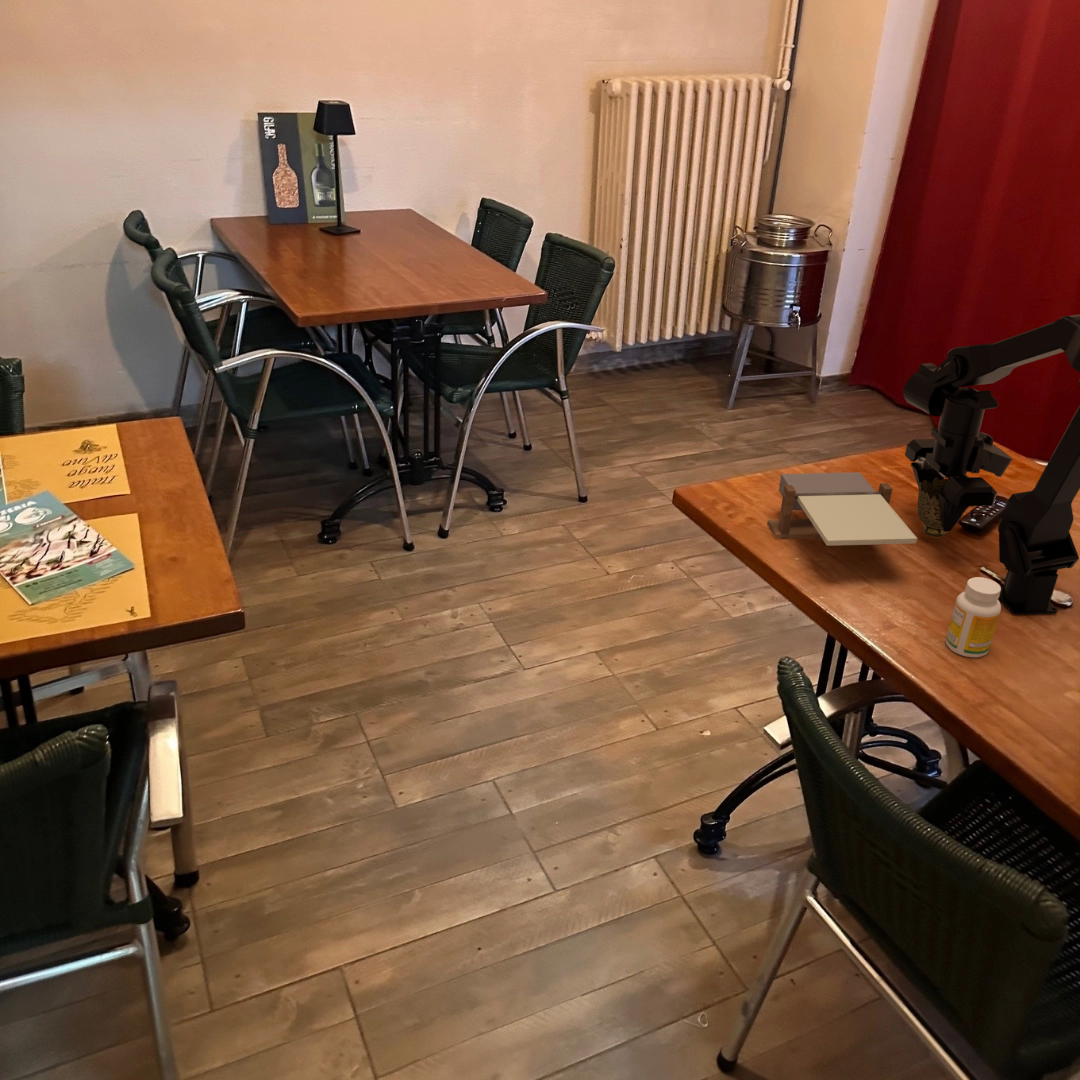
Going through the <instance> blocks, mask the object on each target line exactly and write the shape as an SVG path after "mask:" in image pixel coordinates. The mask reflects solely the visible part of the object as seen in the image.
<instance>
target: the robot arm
mask: <svg viewBox="0 0 1080 1080" xmlns="http://www.w3.org/2000/svg"><path fill="white" fill-rule="evenodd" d="M1062 353H1065V354H1066V358H1067V360H1068V362H1069V366H1070V367H1071V368H1073V369H1074V370H1075V371H1077V372H1078V373H1080V314H1071V315H1064V316H1063V315H1062V317H1059V318H1058V319H1057V320H1055V321H1053V322H1049V323H1047V324H1044V325H1041V326H1038V327H1036V328H1033V329H1030V330H1027V331H1025V332H1021V333H1019V334H1016V335H1013V336H1011V337H1008V338H1005V339H1002V340H999V341H996V342H992V343H985V344H983V343H982V344H974V345H973V344H971V345H964V346H956V347H953V348H951V349H950V350H949V351H948V352H947V354H946V358H945V359H944V360H943V361H942V362H941V363H940V364H939V366H937V365H935V364H934V363H931V362H928V363H920V364H919V366H918V371H916V372H915V373H913V374H912V375H911V376H910V377H909V378H908V380H907V381H906V383H905V384H904V386H903V390H902V392H903V393H902V395H903V398H904V400H905V401H906V403H908V404H910V405H912V406H913V407H915V408H917V409H919V410H921V411H923V412H925V413H926V414H928V415H930V416H933V417H936V418H937V417H939V422H938V426H937V428H931V432H930V435H931V436H932V437H933V438H918V439H917V438H915V439H912V440H911V441H910V442H908V443H907V444H906V447H905V448H906V449H905V453H904V456H905V457H906V458H907V459H908V460H909V461H910V462H911V463H910V467H911V468H912V471H913V475H914V478H915V480H916V485H917V488H918V489H919V484H920V482H922V483H923V481H924V480H927V484H928V483H929V482H930V483H933V480H934V478H938V479H939V481H940V480H943V479H946V478H947V479H949V481H948V482H947V483H946V484H945V488H944V493H939V502H940V511H941V521H942V528H943V531H944V532H947V533H949V532H951V531H952V530H953V529H954V527H955V526H956V525H957V524H958V523H959V522H958V520H959V519H960V520H961V518H962V516H963V515H964V513H965V512H966V511H967V510H968V508H969V507H984V506H985V507H988V506H989V507H990V506H991V507H992V506H993V505H994V504H995V502H996V498H997V494H998V491H997V490H995V488H994V487H993V486H992V485H991V484H990V483H989V482H987V480H985V479H984V477H982V476H977V477H976V476H970V477H969V476H968V475H967V473H970V474H980V471H981V470H982V471H986V472H988V473H991V474H994V476H996V477H998V478H1001V477H1002V476H1003V475H1004V473H1005V472H1006V471H1007V468H1008V467H1009V465H1010V464H1011V463H1012V461H1013V457H1011V456H1010V455H1009V454H1007V453H1006V452H1005V451H1004V450H1003V449H1001V448H999V447H998V446H997V445H995V444H994V438H993V437H992V436H991V435H989V434H988V433H985V432H983V431H981V427H982V423H983V419H984V414H985V410H992V409H997V408H998V407H999V403H998V401H997V400H996V398H995V397H994V396H993V395H992V392H991V390H990V389H988V390H977V389H975V388H973V386H978V385H979V386H981V385H988V384H994V383H996V382H998V381H1000V380H1001V379H1003V378H1005V377H1007V376H1009V375H1010V374H1011V373H1012V371H1013V370H1014V369H1016V368H1018V367H1020V366H1023V365H1025V364H1029V363H1032V362H1035V361H1038V360H1039V361H1040V360H1042V359H1045V358H1048V357H1052V356H1054V355H1055V356H1056V355H1058V354H1062ZM971 386H972V387H971ZM1078 387H1079V389H1080V380H1079V381H1078ZM1079 491H1080V405H1079V406H1078V408H1077V410H1076V411H1075V413H1074V415H1073V416H1072V418H1071V420H1070V422H1069V423H1068V426H1067V428H1066V430H1065V432H1064V433H1063V435H1062V437H1061V439H1060V441H1059V442H1058V444H1057V446H1056V448H1055V449H1054V451H1053V453H1052V455H1051V457H1050V459H1049V460H1048V462H1047V464H1046V466H1045V468H1044V469H1043V472H1042V473H1041V474H1040V477H1039V479H1038V481H1037V482H1036V484H1035V485H1034V488H1033V489H1032V490H1028V491H1022V492H1016V493H1012V494H1011V495H1010V496H1009V498H1008V500H1007V503H1006V506H1005V507H1004V509H1003V511H1002V512H1000V513H999V514H998V517H999V518H1000V521H999V523H998V529H997V532H998V548H999V549H998V552H999V553H998V554H999V555H998V556H999V557H998V558H999V562H1000V564H1003V565H1004V567H1005V570H1006V571H1007V572H1006V574H1005V575H1006V576H1005V579H1004V583H1003V586H1000V587H1001V591H1000V596H999V598H998V600H999V601H1001V603H1002V604H1003V605H1004V606H1005V607H1006V609H1007V610H1009V611H1010V613H1011V614H1013V615H1018V616H1019V615H1020V616H1021V615H1023V616H1024V615H1051V614H1057V613H1058V612H1059V610H1058V608H1057V607H1056V606H1055V604H1053V602H1051V601H1052V597H1053V594H1054V591H1055V587H1056V584H1057V581H1058V578H1059V575H1058V571H1059V570H1063V569H1071V568H1073V567H1074V566H1075V564H1076V563H1077V562H1078V561H1079V559H1080V558H1079V553H1078V551H1077V548H1076V546H1075V543H1074V541H1073V538H1072V536H1071V532H1070V530H1071V528H1072V525H1073V523H1074V520H1075V519H1074V511H1073V506H1072V503H1073V502H1074V499H1075V497H1076V496H1077V494H1078V493H1079ZM960 517H961V518H960ZM960 520H959V521H960ZM957 522H958V523H957ZM956 523H957V524H956ZM955 524H956V525H955Z"/></svg>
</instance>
